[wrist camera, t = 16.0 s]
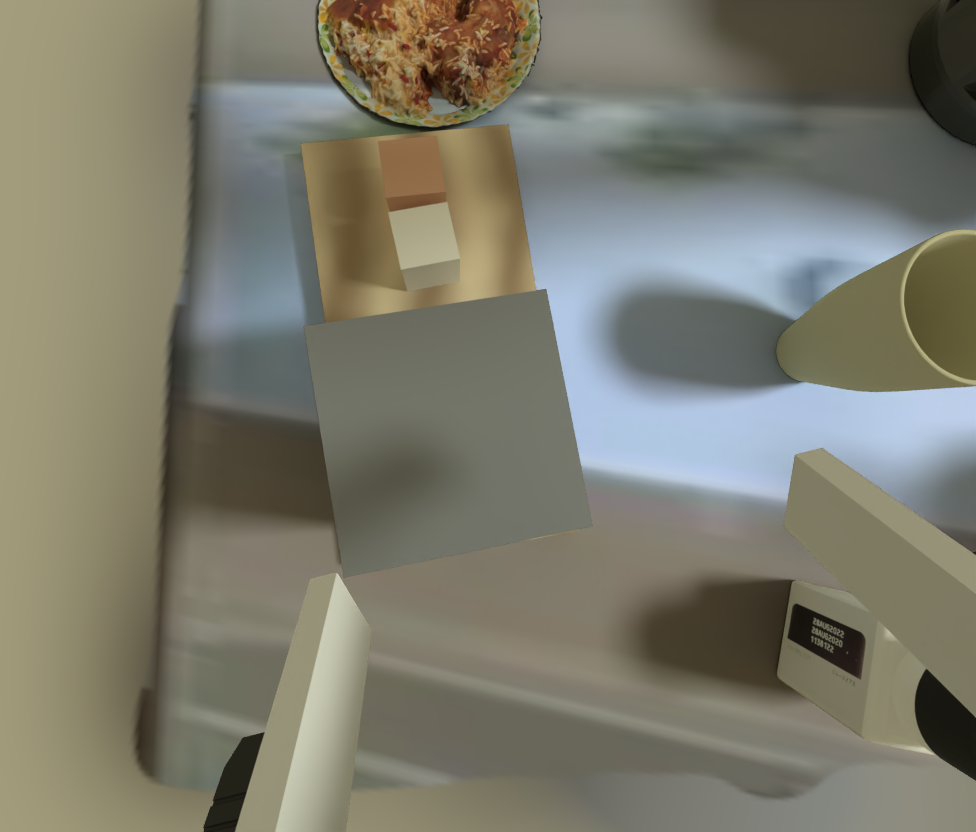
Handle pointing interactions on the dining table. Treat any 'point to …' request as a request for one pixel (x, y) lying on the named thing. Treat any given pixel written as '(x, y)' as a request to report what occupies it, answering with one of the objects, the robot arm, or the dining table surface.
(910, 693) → the container
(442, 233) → the white block
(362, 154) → the board
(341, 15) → the food
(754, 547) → the dining table surface
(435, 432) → the grey matte cube
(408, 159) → the terracotta block
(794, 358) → the mug
